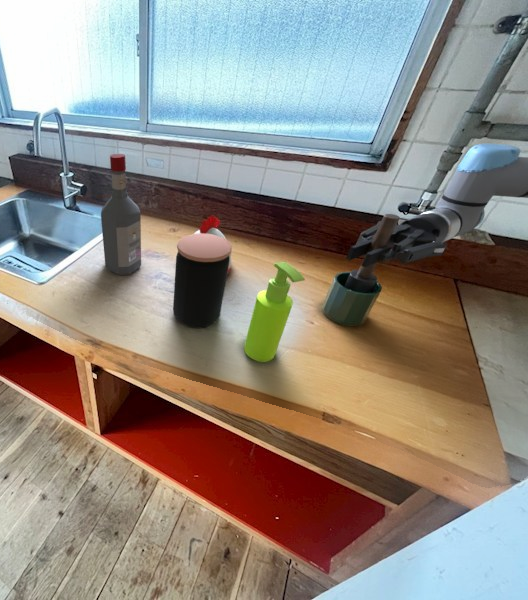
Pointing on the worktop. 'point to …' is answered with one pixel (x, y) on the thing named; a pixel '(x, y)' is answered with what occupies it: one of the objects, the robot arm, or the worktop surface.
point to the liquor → (121, 224)
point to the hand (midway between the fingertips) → (358, 256)
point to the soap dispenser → (271, 314)
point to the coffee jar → (200, 278)
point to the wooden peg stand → (364, 276)
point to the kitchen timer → (212, 230)
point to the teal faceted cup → (348, 302)
